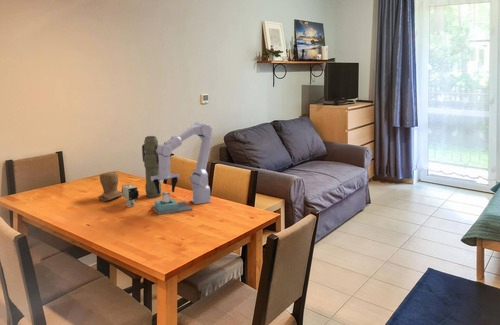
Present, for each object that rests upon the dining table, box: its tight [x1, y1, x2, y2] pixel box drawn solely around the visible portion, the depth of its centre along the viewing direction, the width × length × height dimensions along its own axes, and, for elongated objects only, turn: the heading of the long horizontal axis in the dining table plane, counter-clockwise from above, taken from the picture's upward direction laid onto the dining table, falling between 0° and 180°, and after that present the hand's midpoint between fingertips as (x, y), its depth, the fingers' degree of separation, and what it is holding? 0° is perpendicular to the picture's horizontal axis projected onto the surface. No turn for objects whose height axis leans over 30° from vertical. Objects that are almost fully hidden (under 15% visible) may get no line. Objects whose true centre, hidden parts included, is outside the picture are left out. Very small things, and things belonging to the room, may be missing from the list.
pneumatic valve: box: [121, 183, 139, 208], centre depth 230 cm, size 6×12×12 cm, turn 40°
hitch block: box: [151, 198, 193, 216], centre depth 225 cm, size 18×14×4 cm
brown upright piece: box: [97, 171, 123, 202], centre depth 243 cm, size 15×12×15 cm
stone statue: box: [141, 135, 162, 199], centre depth 245 cm, size 9×12×35 cm
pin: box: [161, 191, 171, 204], centre depth 223 cm, size 4×4×8 cm
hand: (165, 192), depth 223 cm, fingers open, 7 cm apart
